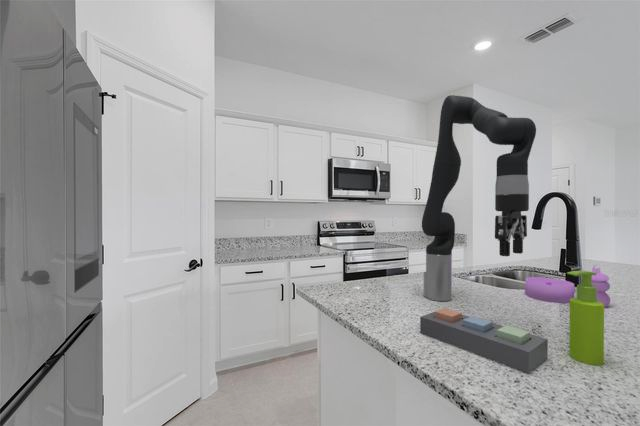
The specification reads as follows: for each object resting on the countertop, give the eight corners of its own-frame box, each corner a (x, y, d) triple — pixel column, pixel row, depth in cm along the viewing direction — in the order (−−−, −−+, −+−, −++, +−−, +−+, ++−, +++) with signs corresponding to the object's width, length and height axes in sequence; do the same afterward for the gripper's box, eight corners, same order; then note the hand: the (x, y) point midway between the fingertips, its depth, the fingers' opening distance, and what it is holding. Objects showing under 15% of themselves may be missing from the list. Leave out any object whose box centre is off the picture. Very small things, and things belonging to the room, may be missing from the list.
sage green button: (496, 342, 70) (496, 330, 70) (506, 337, 73) (506, 325, 73) (521, 350, 66) (521, 337, 66) (529, 344, 69) (529, 331, 69)
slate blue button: (463, 331, 77) (463, 320, 77) (472, 327, 80) (473, 315, 80) (483, 338, 73) (483, 326, 73) (493, 333, 76) (493, 321, 75)
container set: (520, 297, 118) (520, 263, 118) (530, 290, 129) (530, 259, 129) (608, 313, 100) (609, 273, 100) (611, 303, 111) (611, 267, 111)
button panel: (420, 332, 83) (420, 316, 83) (442, 324, 90) (442, 309, 90) (528, 373, 62) (528, 352, 62) (547, 358, 69) (547, 338, 69)
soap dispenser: (558, 353, 71) (559, 269, 71) (585, 352, 72) (586, 268, 72) (582, 366, 66) (582, 274, 65) (611, 364, 66) (612, 273, 66)
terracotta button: (434, 322, 83) (434, 311, 83) (444, 318, 86) (444, 308, 86) (451, 328, 79) (451, 316, 79) (461, 323, 82) (461, 312, 82)
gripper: (507, 195, 87) (507, 251, 87) (484, 193, 79) (484, 255, 79) (538, 193, 81) (537, 254, 81) (516, 191, 73) (516, 258, 73)
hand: (511, 254), depth 80 cm, fingers open, 8 cm apart
